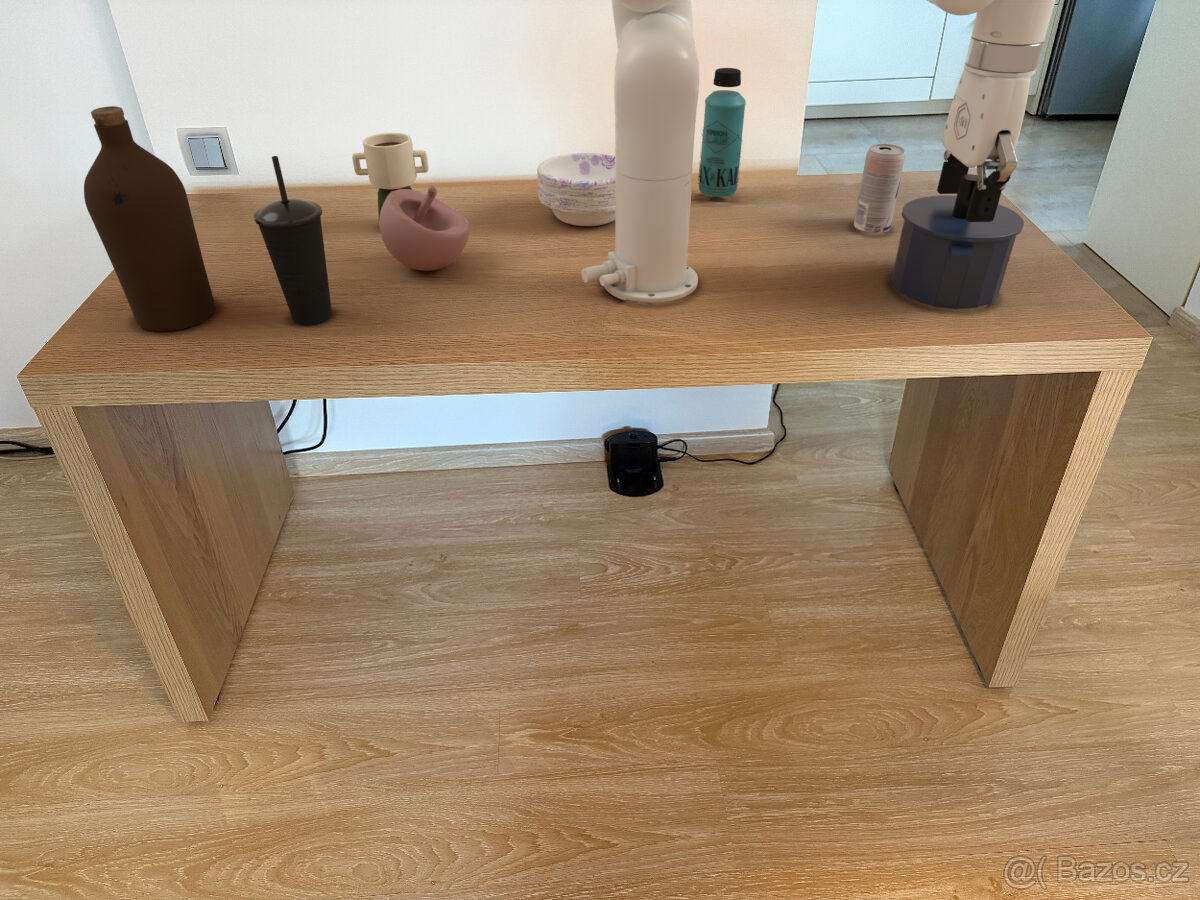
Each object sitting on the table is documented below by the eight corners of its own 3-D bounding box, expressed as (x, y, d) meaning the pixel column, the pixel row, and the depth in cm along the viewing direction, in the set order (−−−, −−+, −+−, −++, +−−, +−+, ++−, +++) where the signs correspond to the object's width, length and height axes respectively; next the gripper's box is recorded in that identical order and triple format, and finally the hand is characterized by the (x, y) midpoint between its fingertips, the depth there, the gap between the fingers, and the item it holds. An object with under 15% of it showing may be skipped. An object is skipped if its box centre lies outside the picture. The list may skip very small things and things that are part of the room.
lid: (1015, 209, 109) (1029, 163, 106) (1026, 253, 98) (1042, 203, 95) (901, 199, 113) (911, 154, 109) (899, 240, 102) (910, 191, 98)
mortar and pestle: (470, 283, 114) (461, 200, 107) (381, 287, 113) (366, 204, 106) (475, 247, 123) (467, 169, 116) (392, 250, 123) (379, 172, 116)
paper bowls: (625, 195, 140) (625, 147, 135) (644, 230, 128) (646, 178, 123) (534, 202, 138) (531, 153, 133) (545, 238, 126) (542, 185, 121)
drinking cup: (284, 335, 102) (241, 171, 90) (277, 309, 108) (236, 151, 96) (348, 323, 105) (314, 162, 93) (338, 298, 110) (304, 143, 98)
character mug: (437, 214, 134) (426, 130, 126) (434, 232, 128) (423, 145, 120) (367, 218, 133) (352, 133, 125) (361, 235, 127) (345, 148, 119)
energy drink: (886, 223, 129) (902, 143, 122) (892, 236, 125) (909, 155, 118) (850, 222, 130) (864, 143, 123) (855, 235, 125) (870, 154, 118)
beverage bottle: (697, 191, 141) (706, 63, 129) (737, 193, 140) (749, 64, 128) (696, 205, 136) (704, 73, 124) (737, 207, 135) (749, 74, 123)
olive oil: (233, 317, 106) (171, 111, 91) (145, 343, 101) (64, 129, 86) (205, 288, 113) (142, 92, 98) (121, 312, 108) (42, 108, 93)
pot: (991, 266, 117) (1010, 199, 111) (1001, 328, 102) (1024, 255, 97) (892, 255, 120) (906, 189, 114) (889, 314, 105) (905, 242, 100)
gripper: (941, 41, 101) (910, 183, 111) (1002, 75, 87) (960, 234, 97) (1002, 40, 101) (966, 182, 111) (1073, 74, 87) (1024, 233, 97)
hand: (963, 206), depth 104 cm, fingers open, 9 cm apart
